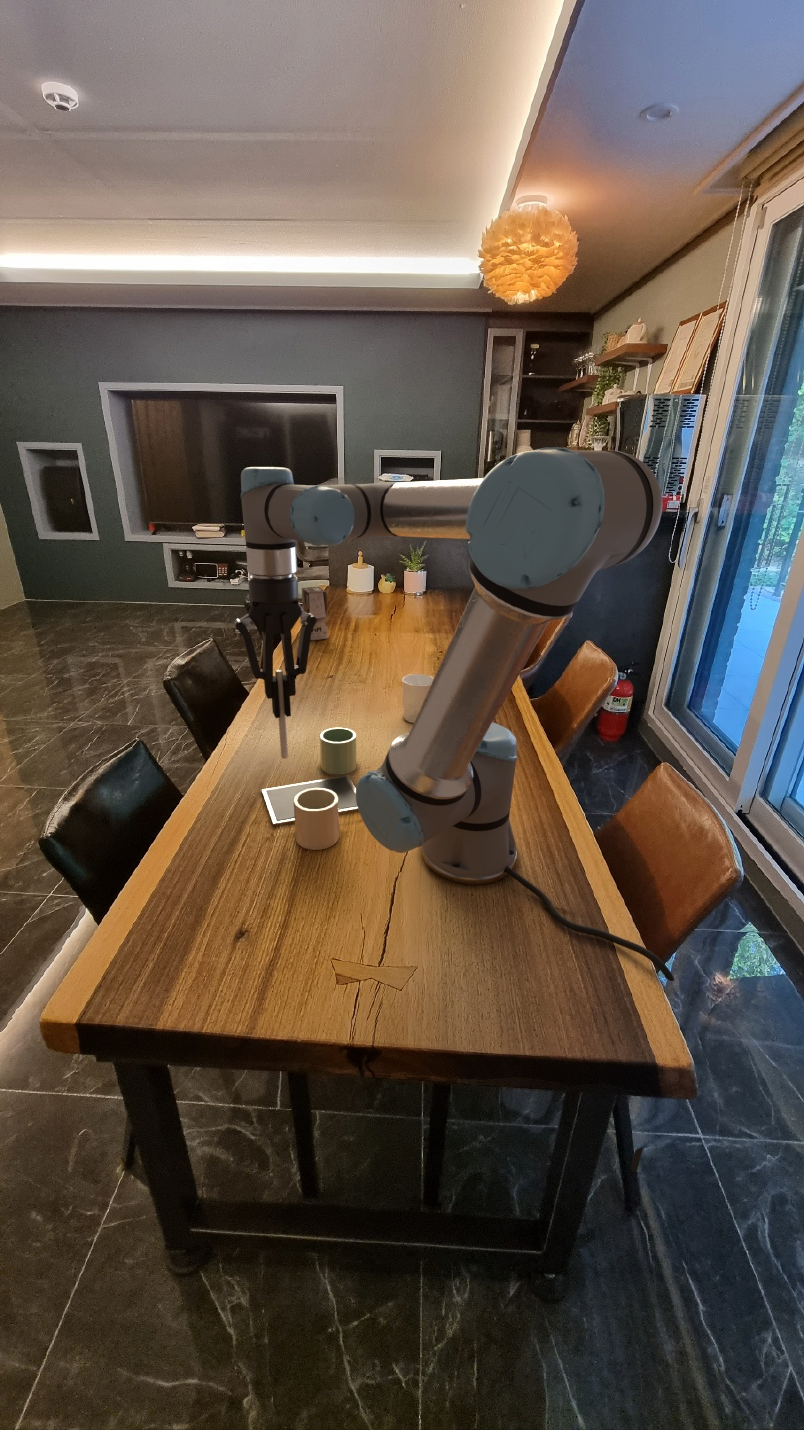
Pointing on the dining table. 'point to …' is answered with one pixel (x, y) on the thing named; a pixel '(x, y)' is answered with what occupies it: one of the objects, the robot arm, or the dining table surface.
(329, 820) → the pen cup cream
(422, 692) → the white cup
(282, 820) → the tablet
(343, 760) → the pen cup green
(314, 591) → the coffee box
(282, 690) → the stylus
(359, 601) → the dining table surface
